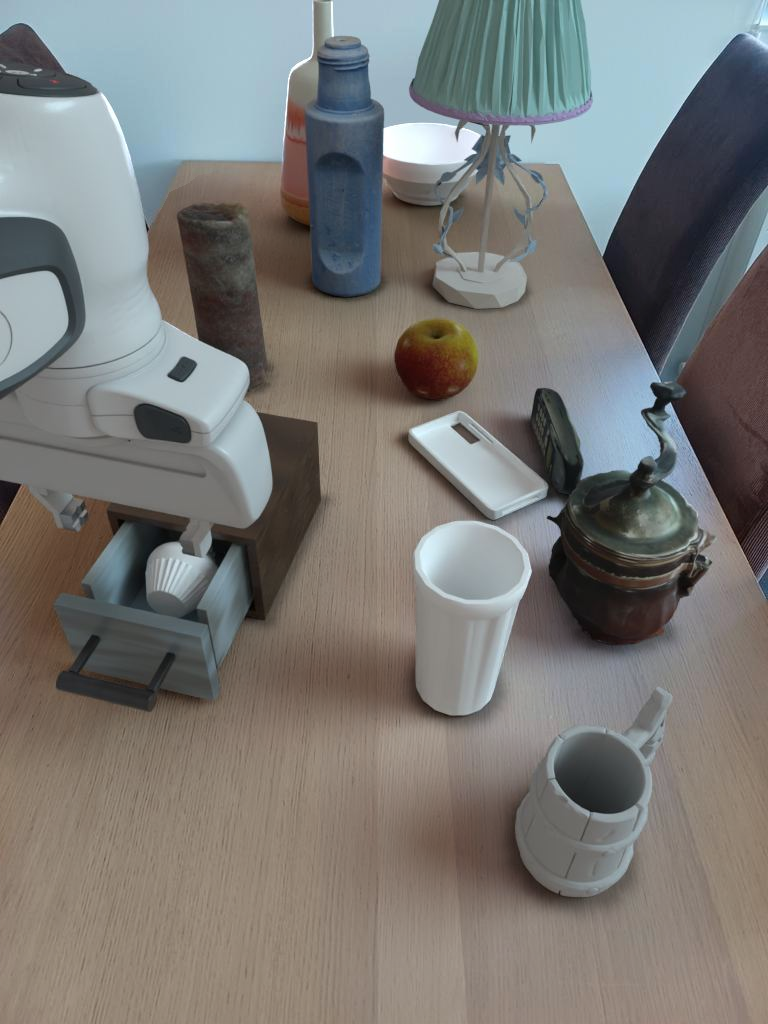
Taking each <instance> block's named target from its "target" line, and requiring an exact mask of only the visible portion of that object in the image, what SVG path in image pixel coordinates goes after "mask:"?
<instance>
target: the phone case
mask: <svg viewBox="0 0 768 1024" xmlns="http://www.w3.org/2000/svg"><path fill="white" fill-rule="evenodd" d="M459 424H460V425H461V426H463V427H464V428H465V429H466V430H467V431H468V432H469V433H471V434H472V435H473V436H474V437H475V438H476V439H478V441H476V442H474V443H469V442H468V441H467V440H466V439H465V438H464V437H463V436H462V435H460V433H458V432H457V431H456V430H455V429H454V428H453V427H454V426H456V425H459ZM407 441H408V443H409V444H410V445H411V446H412V447H413V448H414V449H415V450H416V451H417V452H418V453H419V454H420V455H421V456H422V457H423V458H424V459H425V460H426V461H428V462H429V464H431V466H433V467H434V469H436V470H437V471H438V472H439V473H440V474H441V475H442V476H443V477H444V478H445V479H446V480H447V481H448V482H449V483H450V484H451V485H453V487H455V488H456V489H457V491H459V492H460V493H461V494H462V495H463V496H464V497H465V498H466V499H467V500H468V501H469V502H470V503H471V504H472V505H474V507H475V508H476V509H477V510H479V511H480V513H481V514H482V515H484V516H485V517H486V518H487V519H489V520H492V521H496V520H499V519H500V518H502V517H506V516H507V515H509V514H511V513H513V512H516V511H518V510H520V509H523V508H524V507H527V506H529V505H531V504H534V503H536V502H539V501H540V500H542V499H545V498H547V496H548V492H549V491H548V490H549V484H548V483H547V481H546V480H544V479H543V477H541V476H540V475H539V474H538V473H537V472H535V471H534V470H533V469H532V468H531V467H530V466H529V465H527V464H526V463H525V462H524V461H522V460H521V459H520V458H519V457H518V456H517V455H515V454H514V453H513V451H511V450H509V448H507V447H506V446H505V445H503V444H502V443H501V442H500V441H499V440H498V439H497V438H496V437H494V436H493V435H492V434H491V433H490V432H489V431H488V430H486V429H485V428H484V427H482V425H480V424H479V423H478V422H477V421H476V420H474V418H472V417H471V416H470V415H469V414H467V413H466V412H464V411H462V410H456V411H454V412H450V413H448V414H445V415H443V416H441V417H437V418H435V419H432V420H429V421H427V422H424V423H421V424H419V425H416V426H413V427H411V428H409V429H408V437H407Z"/></svg>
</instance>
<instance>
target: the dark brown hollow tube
mask: <svg viewBox="0 0 768 1024" xmlns="http://www.w3.org/2000/svg"><path fill="white" fill-rule="evenodd" d="M249 217H250V216H249V210H248V209H247V208H246V206H244V205H243V204H242V203H240V202H239V203H238V202H237V203H234V204H233V203H218V204H217V203H207V202H196V203H195V202H194V203H193V204H190V205H188V206H185V207H184V208H182V209H180V210H179V211H178V212H177V213H176V219H177V224H178V230H179V234H180V241H181V246H182V252H183V257H184V263H185V267H186V273H187V279H188V286H189V291H190V296H191V302H192V309H193V314H194V321H195V327H196V333H197V340H199V341H201V342H203V343H205V344H207V345H209V346H211V347H214V348H216V349H218V350H220V351H222V352H225V353H227V354H229V355H231V356H233V357H236V358H238V359H239V360H241V361H242V362H243V363H245V365H246V366H247V368H248V370H249V376H250V383H249V386H248V389H247V391H249V390H250V389H252V388H254V387H256V386H258V385H260V384H262V383H263V381H264V380H265V376H266V375H267V372H268V369H269V367H268V360H267V351H266V343H265V337H264V329H263V322H262V314H261V306H260V298H259V290H258V283H257V274H256V266H255V264H256V263H255V259H254V257H255V256H254V250H253V249H254V248H253V242H252V234H251V233H252V232H251V227H250V218H249Z"/></svg>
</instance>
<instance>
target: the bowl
mask: <svg viewBox="0 0 768 1024" xmlns="http://www.w3.org/2000/svg"><path fill="white" fill-rule="evenodd" d="M457 126H458V125H457ZM457 126H456V125H452V124H451V125H450V124H444V123H433V122H411V123H401V124H396V125H391V126H387V127H384V141H383V155H384V157H383V180H384V182H385V184H386V186H387V187H388V188H389V190H391V192H392V193H393V195H394V196H395V197H396V198H397V199H398V200H400V201H402V202H405V203H408V204H412V205H415V206H417V205H418V206H426V207H427V206H429V207H430V206H440V205H442V204H441V203H440V202H439V201H438V199H437V196H436V194H435V192H434V188H435V185H436V182H437V181H438V180H440V178H441V176H442V174H443V173H445V172H451V173H452V172H453V171H455V170H457V169H458V168H460V167H461V166H462V165H464V164H465V163H466V162H467V161H465V160H464V159H466V158H467V157H469V156H470V155H472V154H476V151H474V150H472V148H473V146H474V145H475V143H476V142H477V141H478V139H479V138H480V136H481V134H480V133H477V132H475V131H473V130H470V129H467V128H464V127H462V128H461V129H460V132H459V137H458V142H457V140H456V136H455V131H456V128H457ZM472 164H473V163H472ZM472 164H470V165H468V166H467V167H465V168H464V169H462V170H460V171H459V172H457V173H456V175H455V176H454V177H453V178H452V179H451V180H449V181H447V182H442V183H441V184H440V186H439V187H438V188H437V190H438V193H439V195H440V198H441V200H442V201H443V202H444V203H445V201H446V199H447V197H448V195H449V193H450V191H451V189H452V188H453V187H454V185H455V184H456V183H457V182H458V181H459V179H460V178H461V177H462V176H463V175H464V173H465V172H466V171H467V170H468V169H469V167H470V166H471V165H472ZM477 172H478V170H477V169H475V170H474V172H473V173H472V174H471V175H470V176H469V178H468V179H467V180H466V181H465V182H464V184H463V185H462V186H461V187H460V188H459V190H458V191H457V192H456V193H455V195H454V196H453V197H452V199H451V202H454V201H456V199H458V197H459V196H460V194H461V193H462V192H463V191H464V190H466V189H467V187H468V185H469V184H470V182H471V181H473V179H474V177H476V174H477Z"/></svg>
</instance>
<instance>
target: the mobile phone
mask: <svg viewBox="0 0 768 1024" xmlns="http://www.w3.org/2000/svg"><path fill="white" fill-rule="evenodd" d="M530 423H531V427H532V428H533V430H534V434H535V436H536V439H537V442H538V445H539V448H540V450H541V454H542V457H543V462H544V468H545V473H546V475H547V477H548V480H549V481H550V483H551V484H552V485H553V486H554V488H555V489H556V491H557V492H558V493H560V494H565V495H566V494H567V495H569V496H570V495H571V493H572V491H573V490H575V488H576V485H577V483H578V482H579V481H580V480H582V476H583V472H584V471H583V470H584V464H585V463H584V462H585V461H584V458H583V455H582V452H581V440H580V437H579V435H578V432H577V430H576V427H575V425H574V424H573V422H572V420H571V417H570V414H569V410H568V409H567V407H566V405H565V402H564V400H563V398H562V396H561V395H560V394H559V392H557V391H556V390H554V389H552V388H548V387H538V388H536V389H535V393H534V397H533V403H532V409H531V414H530Z"/></svg>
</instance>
